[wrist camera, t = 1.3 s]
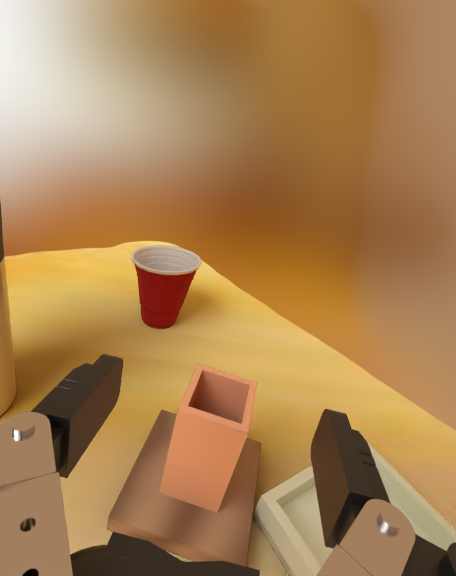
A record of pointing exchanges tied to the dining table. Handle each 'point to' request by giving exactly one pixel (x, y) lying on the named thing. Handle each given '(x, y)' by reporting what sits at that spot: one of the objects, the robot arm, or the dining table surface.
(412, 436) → the dining table surface
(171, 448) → the sleeve
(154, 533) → the stand
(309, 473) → the tray
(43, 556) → the robot arm
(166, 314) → the plastic cup
